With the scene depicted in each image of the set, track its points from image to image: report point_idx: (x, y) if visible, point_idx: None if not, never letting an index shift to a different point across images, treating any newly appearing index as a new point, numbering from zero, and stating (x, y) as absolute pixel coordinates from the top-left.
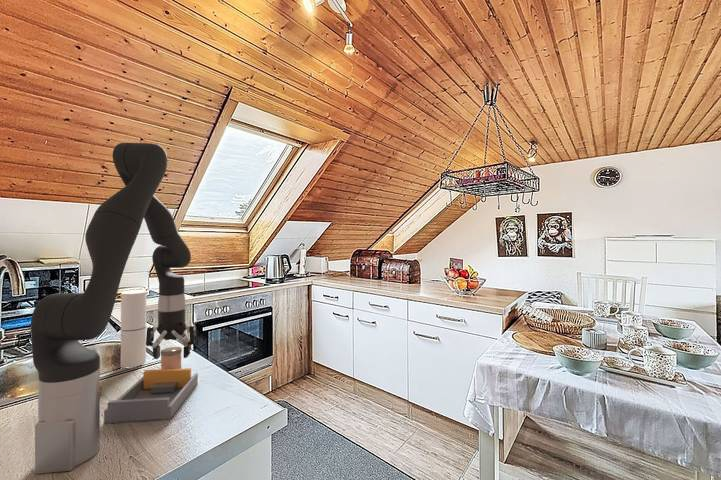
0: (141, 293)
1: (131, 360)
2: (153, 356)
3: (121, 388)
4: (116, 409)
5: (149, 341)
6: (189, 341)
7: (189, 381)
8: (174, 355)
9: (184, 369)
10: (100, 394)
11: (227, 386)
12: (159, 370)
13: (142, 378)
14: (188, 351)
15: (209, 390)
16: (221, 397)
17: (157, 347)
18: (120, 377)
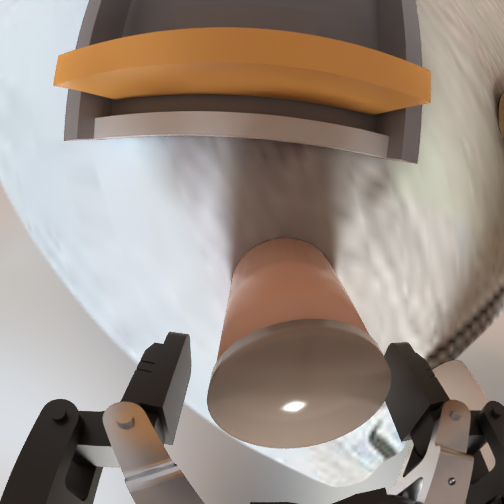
0: None
1: (456, 383)
2: (419, 356)
3: (464, 171)
4: None
5: (499, 432)
6: (90, 445)
7: (87, 28)
8: (251, 331)
9: (90, 57)
10: (501, 112)
11: (5, 117)
12: (310, 49)
13: (414, 116)
14: (137, 369)
15: (48, 75)
16: (21, 36)
17: (425, 412)
18: (475, 289)
